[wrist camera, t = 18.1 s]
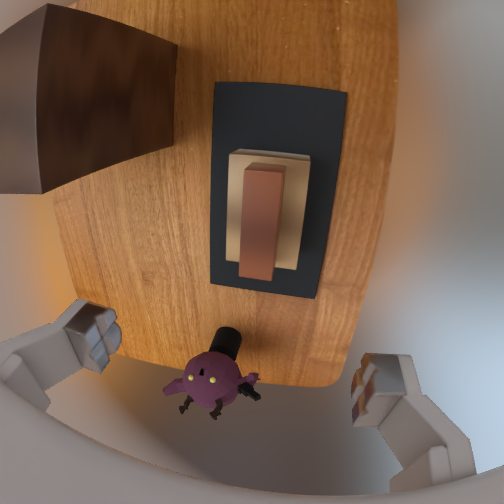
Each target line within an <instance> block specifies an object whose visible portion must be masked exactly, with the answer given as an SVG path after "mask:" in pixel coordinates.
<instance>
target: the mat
mask: <svg viewBox="0 0 504 504" xmlns="http://www.w3.org/2000/svg"><path fill="white" fill-rule="evenodd" d="M346 95H347V93H346V92H341V91H335V90H328V89H321V88H314V87H305V86H296V85H285V84H273V83H255V82H215V90H214V108H213V129H212V156H211V197H210V283H211V284H217V285H223V286H229V287H235V288H242V289H248V290H255V291H262V292H268V293H275V294H282V295H289V296H296V297H304V298H311V299H315V295H316V291H317V286H318V281H319V277H320V272H321V267H322V262H323V257H324V252H325V246H326V241H327V236H328V230H329V224H330V219H331V213H332V207H333V201H334V194H335V188H336V181H337V174H338V167H339V159H340V152H341V144H342V135H343V126H344V117H345V106H346ZM238 149H251V150H263V151H274V152H283V153H292V154H301V155H308V156H310V162H311V164H310V172H309V181H308V189H307V197H306V205H305V213H304V220H303V227H302V234H301V241H300V248H299V255H298V261H297V268H296V270H293V269H285V268H278V267H275V268H274V273H273V277H272V281H267V280H260V279H253V278H246V277H240V276H239V262H235V261H228V260H226V232H227V199H228V172H229V154H230V153H232V152H234V151H236V150H238Z"/></svg>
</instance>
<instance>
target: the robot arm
mask: <svg viewBox="0 0 504 504" xmlns="http://www.w3.org/2000/svg"><path fill="white" fill-rule="evenodd" d="M116 319H117V315H116V312H115V310H114V309H112V308H109V307H106V306H103V305H100V304H97V303H94V302H91V301H87V300H84V299H81V298H80V299H76V300H75V301H74V302H73V303H72V304H71V305H70V306H69V307H68V308H67V309H66V310H65V312H64V313H63V314H61V316H60V317H59V318H58V319H57V320H56V321H55V322H54V323H53V324H50V323H49V324H46V325H44V326H41V327H39V328H36V329H34V330H31V331H29V332H26V333H23V334H21V335H19V336H16V337H13V338H11V339H8V340H6V341H3V342H1V343H0V504H504V465H503V466H500V467H497V468H494V469H492V470H489V471H486V472H483V473H480V474H477V473H476V468H475V462H474V457H473V452H472V448H471V443H470V439H469V438H468V437H467V436H466V435H465V434H464V433H463V432H462V431H461V430H460V429H459V428H458V427H457V426H456V425H455V424H454V423H453V422H452V421H451V420H450V419H449V418H448V417H447V416H446V415H445V414H444V413H443V412H442V411H441V410H440V409H439V407H438V406H436V404H435V403H433V401H432V400H431V399H430V398H429V397H428V396H427V395H422V392H421V388H420V384H419V381H418V377H417V373H416V370H415V367H414V364H413V360H412V357H411V356H410V355H399V354H397V355H396V354H395V355H394V354H377V353H365V354H364V355H363V358H362V360H361V368H359V369H358V370H356V373H355V375H354V377H353V381H352V386H351V398H352V399H353V400H354V402H355V405H354V407H353V409H352V418H353V427H378V430H379V432H380V433H381V435H382V436H383V438H384V440H385V441H386V443H387V444H388V445H389V447H390V448H391V450H392V452H393V453H394V455H395V456H396V458H397V459H398V461H399V462H400V464H401V465H402V467H403V468H404V469H403V470H402V471H401V472H399V473H398V474H397V475H395V476H394V477H393V478H392V479H391V480H390V493H383V494H371V495H352V496H315V495H296V494H284V493H275V492H266V491H258V490H252V489H246V488H240V487H235V486H230V485H225V484H220V483H216V482H211V481H207V480H203V479H199V478H195V477H192V476H188V475H184V474H180V473H178V472H174V471H171V470H168V469H165V468H162V467H159V466H156V465H153V464H151V463H148V462H145V461H142V460H140V459H137V458H134V457H132V456H130V455H127V454H125V453H122V452H120V451H118V450H116V449H113V448H111V447H109V446H107V445H104V444H102V443H100V442H98V441H96V440H94V439H92V438H90V437H88V436H86V435H84V434H82V433H80V432H79V431H77V430H75V429H73V428H71V427H70V426H68V425H66V424H64V423H62V422H61V421H59V420H58V419H56V418H54V417H53V416H51V415H49V414H48V413H46V412H45V411H46V409H47V408H48V407H49V405H50V403H51V402H50V399H49V397H48V396H47V395H46V393H45V392H44V391H45V390H47V389H49V388H50V387H52V386H54V385H55V384H57V383H59V382H60V381H62V380H63V379H65V378H67V377H68V376H70V375H72V374H74V373H75V372H77V371H78V370H80V369H82V367H84V368H86V369H89V370H92V371H94V372H97V373H100V374H101V373H102V371H103V370H104V369H105V367H106V366H107V364H108V363H109V361H110V358H109V355H111V354H113V353H115V352H116V351H117V350H118V348H119V346H120V343H121V340H122V332H121V329H120V327H119V325H118V324H117V323H116V322H115V321H116Z"/></svg>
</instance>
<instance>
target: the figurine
mask: <svg viewBox="0 0 504 504" xmlns="http://www.w3.org/2000/svg"><path fill="white" fill-rule="evenodd" d="M241 340H242V337H241V334H240V333H239V332H238V331H237V330H235V329H233V328H231V327H221V328H219V329H218V330H217V332H216V334H215V336H214V339H213V341H212V344H211V346H210V349H209V352H203V353H201V354H199V355H197V356H196V357H194V358H192V359H191V360H190V361H189V362H188V363H187V365H186V368H185V372H184V375H183V378H180V379H175V380H174V381H172V382H171V383H170V384H168V385H167V386H166V387H164V388H163V392H164V393H165V395H166V396H168V395H172V394H175V393H179V392H184V391H186V392H187V394H188V396H187V399H186V401H185V402H184V406H180V407H179V410H180V412H181V414H183V413H184V411H185V409H188V406H189V404H190V402H195V403H197V404H198V405H200V406H203V407H206V408H214V411H212V412H210V415H211V417H212V418H213V419H214V420H217V416H218V415H221V412H220V410H221V409H222V407H223V406H226V405H228V404H230V403H232V402H233V401H234V400H235V398H236V397H237V395H238V393H240V394H241V393H242V394H243V395H245V396H250V397H251V398H252V399H254V400H255V401H257V400H259V399H261V396H260V394H258V393H256V392H255V391H254V388H253V386H254V384H255V383H256V381H257V380H261V379H259V378H258V375H259V374H258V373H249V375H248V376H245V377H243V378H242V375H241V373H240V370H239V368H238V365H237V364H236V362H235V360H236V357H237V354H238V350H239V347H240V344H241Z"/></svg>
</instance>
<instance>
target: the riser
mask: <svg viewBox="0 0 504 504" xmlns="http://www.w3.org/2000/svg"><path fill="white" fill-rule="evenodd" d="M176 55H177V45H176V44H174V43H171V42H169V41H167V40H164V39H162V38H160V37H157V36H155V35H152V34H150V33H147V32H145V31H142V30H139V29H137V28H134V27H131V26H129V25H126V24H123V23H120V22H117V21H114V20H111V19H108V18H105V17H101V16H98V15H95V14H91V13H88V12H84V11H80V10H76V9H72V8H68V7H64V6H59V5H54V4H49V3H47V4H46V5H44V6H42V7H40V8H39V9H37V10H35V11H34V12H32V13H30V14H29V15H27V16H26V17H24V18H23V19H21V20H20V21H18V22H17V23H15V24H14V25H12V26H11V27H9V28H8V29H7V30H5V31H4V32H3V33H1V34H0V193H1V194H44V193H46V192H48V191H51V190H53V189H55V188H57V187H60V186H62V185H64V184H67V183H69V182H71V181H74V180H76V179H78V178H81V177H83V176H86V175H88V174H91V173H93V172H96V171H99V170H101V169H104V168H107V167H109V166H112V165H115V164H118V163H120V162H123V161H126V160H129V159H132V158H135V157H138V156H141V155H144V154H147V153H150V152H154V151H157V150H160V149H164V148H167V147H170V146H173V108H174V85H175V69H176Z"/></svg>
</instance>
